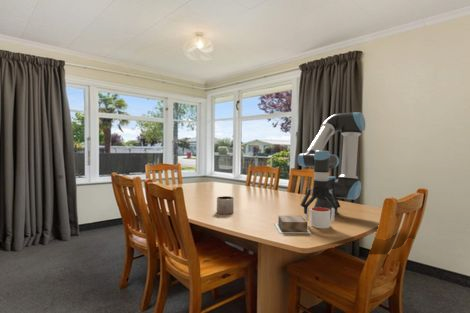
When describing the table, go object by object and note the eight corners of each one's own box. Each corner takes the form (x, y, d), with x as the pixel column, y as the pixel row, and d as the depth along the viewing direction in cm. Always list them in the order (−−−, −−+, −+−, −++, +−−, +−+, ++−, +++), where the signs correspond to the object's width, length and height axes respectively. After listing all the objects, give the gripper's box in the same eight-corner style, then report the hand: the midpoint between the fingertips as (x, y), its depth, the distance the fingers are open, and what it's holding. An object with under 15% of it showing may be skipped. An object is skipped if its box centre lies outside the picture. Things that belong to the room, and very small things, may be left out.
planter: (213, 213, 173) (213, 198, 173) (221, 209, 183) (221, 195, 183) (229, 215, 169) (229, 199, 168) (236, 211, 179) (236, 196, 179)
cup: (307, 225, 149) (307, 207, 148) (325, 225, 150) (325, 207, 149) (314, 231, 139) (314, 211, 138) (333, 231, 140) (333, 211, 139)
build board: (303, 226, 146) (303, 223, 146) (312, 236, 130) (312, 233, 130) (273, 226, 146) (274, 223, 146) (278, 236, 130) (278, 233, 130)
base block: (301, 225, 144) (301, 215, 144) (307, 232, 132) (307, 222, 132) (278, 224, 144) (278, 215, 144) (282, 232, 132) (282, 221, 132)
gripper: (342, 179, 147) (340, 219, 148) (295, 178, 147) (294, 218, 147) (347, 181, 139) (346, 222, 140) (299, 180, 139) (297, 221, 140)
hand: (319, 220), depth 144 cm, fingers open, 13 cm apart
